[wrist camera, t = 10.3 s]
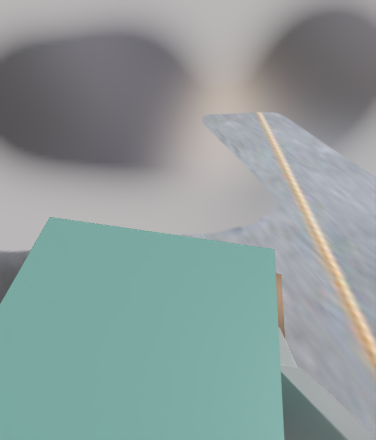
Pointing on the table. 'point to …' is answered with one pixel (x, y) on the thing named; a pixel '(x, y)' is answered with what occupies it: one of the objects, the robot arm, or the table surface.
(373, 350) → the table surface
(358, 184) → the table surface
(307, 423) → the robot arm
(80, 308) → the teal block
